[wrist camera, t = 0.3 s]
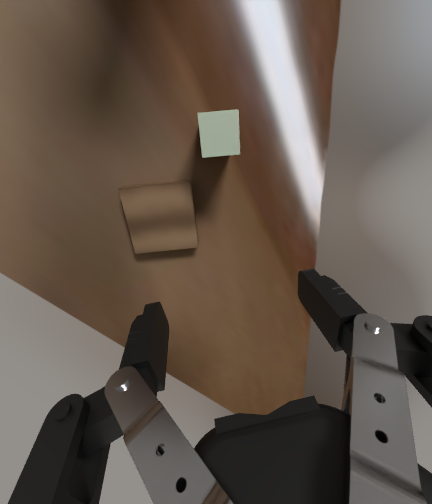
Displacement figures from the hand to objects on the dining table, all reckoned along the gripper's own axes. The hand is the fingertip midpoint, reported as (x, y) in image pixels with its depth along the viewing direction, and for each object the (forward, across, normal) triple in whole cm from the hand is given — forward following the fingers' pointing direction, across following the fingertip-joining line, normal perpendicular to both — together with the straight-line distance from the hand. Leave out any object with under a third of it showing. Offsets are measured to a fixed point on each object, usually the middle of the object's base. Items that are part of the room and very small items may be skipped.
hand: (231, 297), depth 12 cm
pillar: (+28, -4, -7) cm, 29 cm away
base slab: (+28, +7, +3) cm, 29 cm away
